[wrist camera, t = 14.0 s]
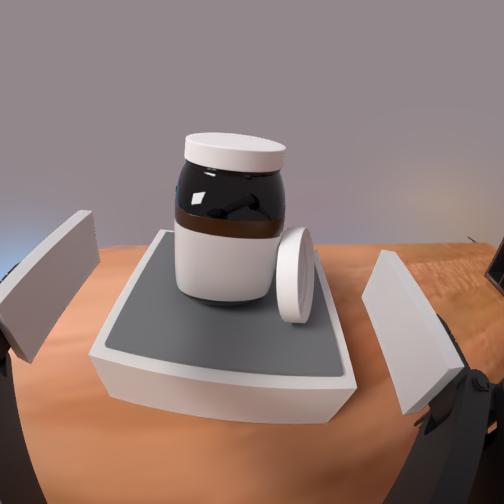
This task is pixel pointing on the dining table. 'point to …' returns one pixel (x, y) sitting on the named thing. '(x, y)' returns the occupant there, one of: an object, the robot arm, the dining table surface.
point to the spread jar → (239, 227)
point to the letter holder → (497, 269)
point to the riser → (221, 351)
